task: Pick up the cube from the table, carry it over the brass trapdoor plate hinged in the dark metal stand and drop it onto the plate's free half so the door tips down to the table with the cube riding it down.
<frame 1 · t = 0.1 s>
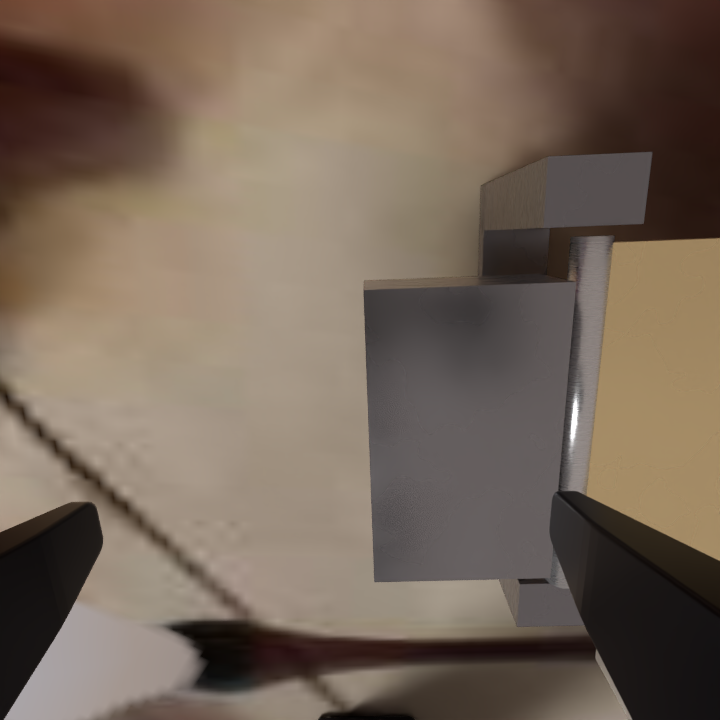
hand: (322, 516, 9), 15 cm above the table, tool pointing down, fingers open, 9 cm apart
trapdoor: (649, 422, 15), point 8 cm above the table, hinge at 0.0°
cube: (639, 623, 27), on the table
frame: (504, 361, 23), on the table
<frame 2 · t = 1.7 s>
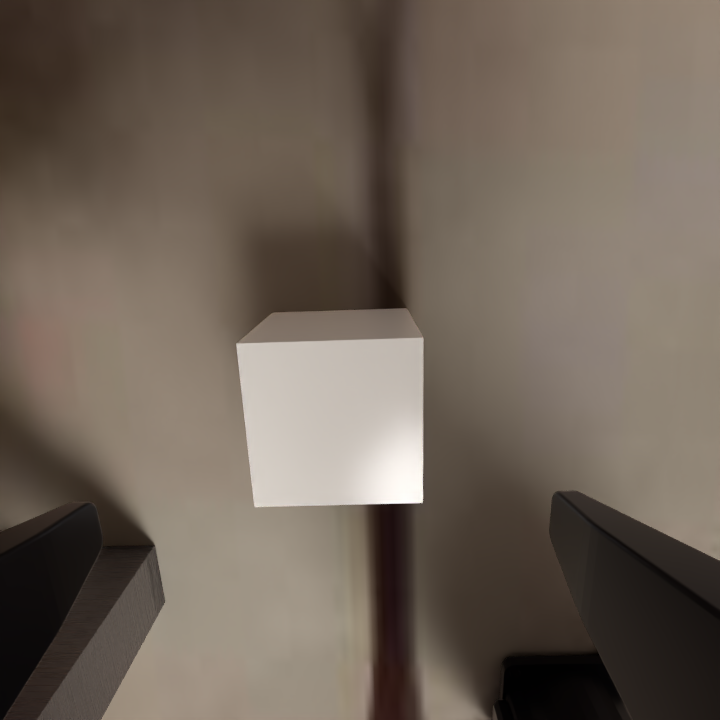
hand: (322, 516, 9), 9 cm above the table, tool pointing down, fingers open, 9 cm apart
cube: (342, 373, 17), on the table
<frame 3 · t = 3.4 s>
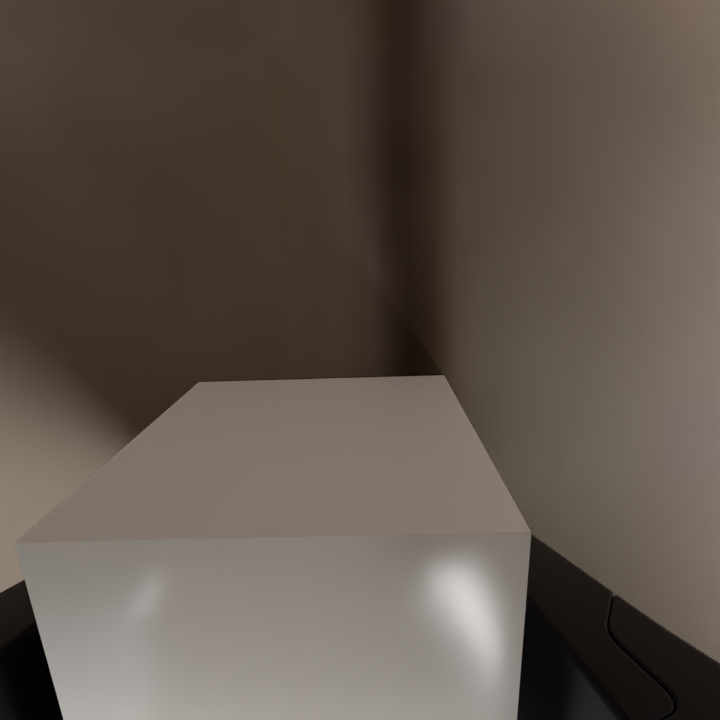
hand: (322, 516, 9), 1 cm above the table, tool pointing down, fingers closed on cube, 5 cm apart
cube: (327, 487, 10), on the table, touching gripper
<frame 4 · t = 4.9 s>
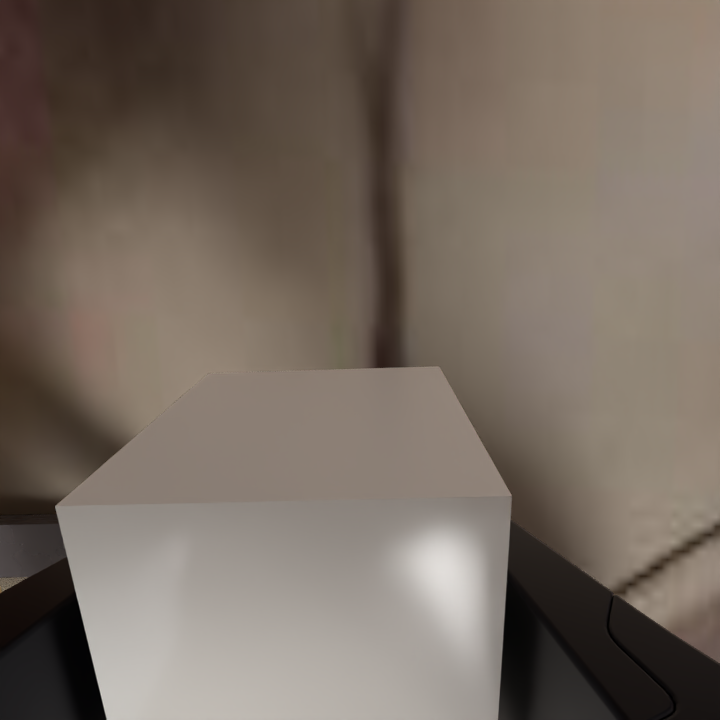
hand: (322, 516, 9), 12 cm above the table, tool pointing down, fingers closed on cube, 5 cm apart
cube: (329, 473, 10), point 10 cm above the table, touching gripper
frame: (20, 540, 23), on the table
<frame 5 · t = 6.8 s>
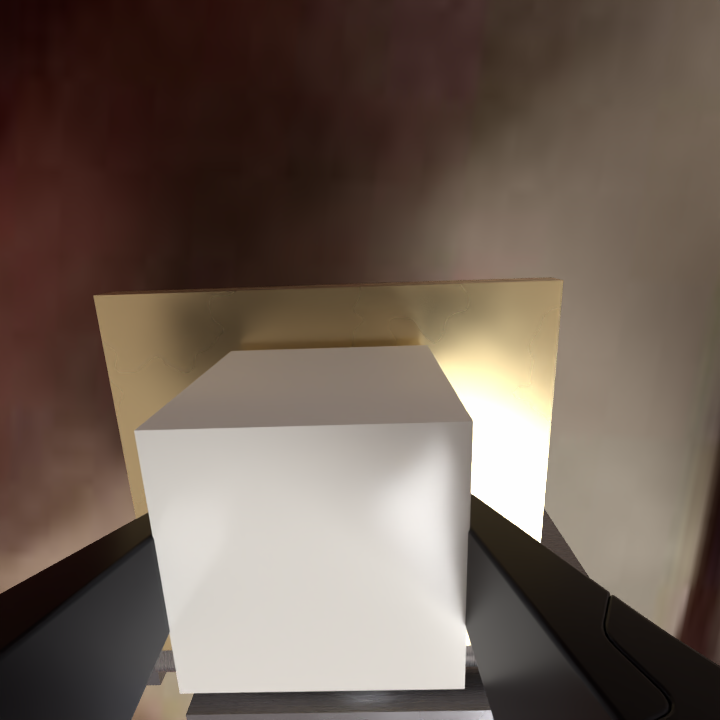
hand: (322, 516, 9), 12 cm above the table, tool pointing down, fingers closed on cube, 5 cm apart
trapdoor: (342, 585, 14), point 8 cm above the table, hinge at 0.0°
cube: (333, 438, 12), point 9 cm above the table, touching gripper
frame: (352, 507, 23), on the table
when the fingers open (12 cm above the table, at t = 6.9 s): cube drops 6 cm and tips over, resting on trapdoor.
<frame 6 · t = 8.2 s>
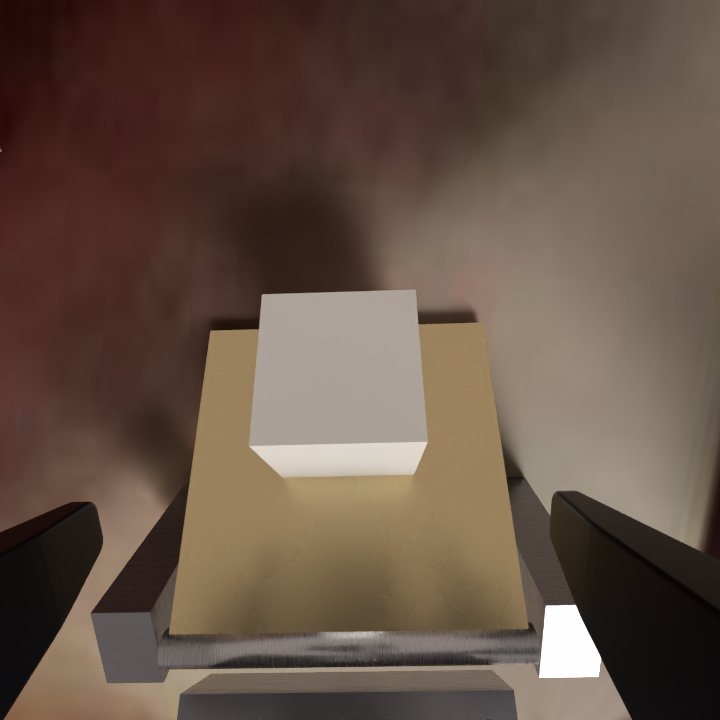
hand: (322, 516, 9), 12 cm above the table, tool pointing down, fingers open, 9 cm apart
trapdoor: (347, 564, 16), point 6 cm above the table, hinge at -39.9°, touching cube
cube: (347, 413, 18), point 3 cm above the table, tilted 40°, touching trapdoor
frame: (354, 507, 23), on the table
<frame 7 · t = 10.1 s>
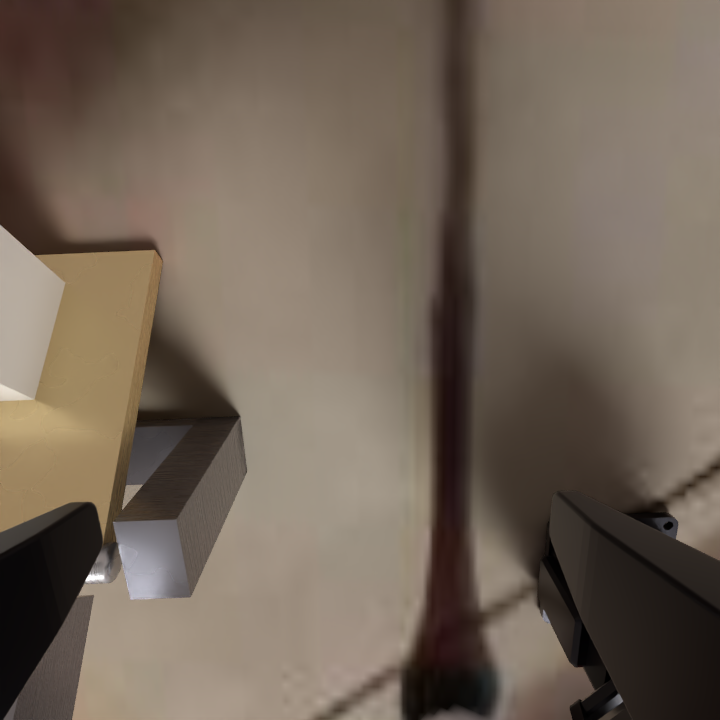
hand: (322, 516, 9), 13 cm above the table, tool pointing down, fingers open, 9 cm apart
frame: (71, 451, 22), on the table
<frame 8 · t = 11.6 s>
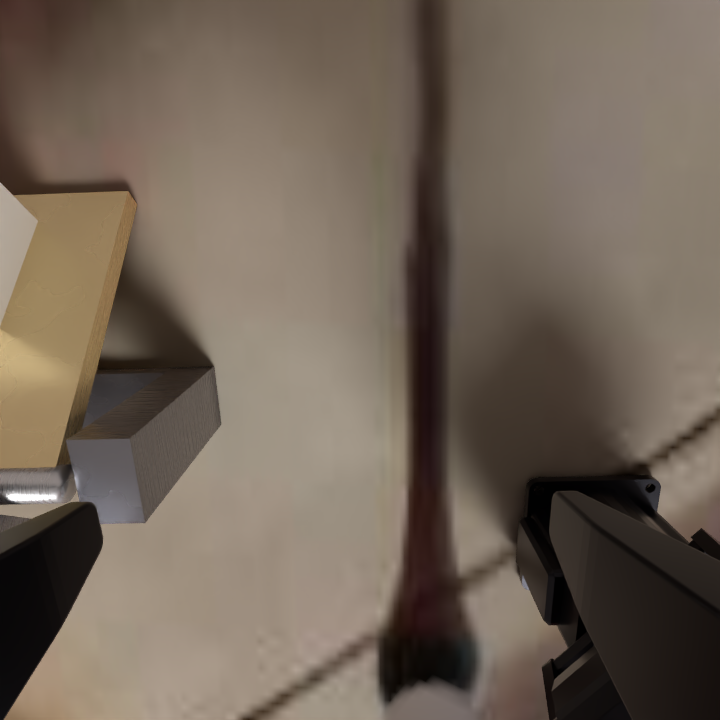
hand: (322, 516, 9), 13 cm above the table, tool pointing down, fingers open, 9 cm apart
frame: (46, 400, 22), on the table
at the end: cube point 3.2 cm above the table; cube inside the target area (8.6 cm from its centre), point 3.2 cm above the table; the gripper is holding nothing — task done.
